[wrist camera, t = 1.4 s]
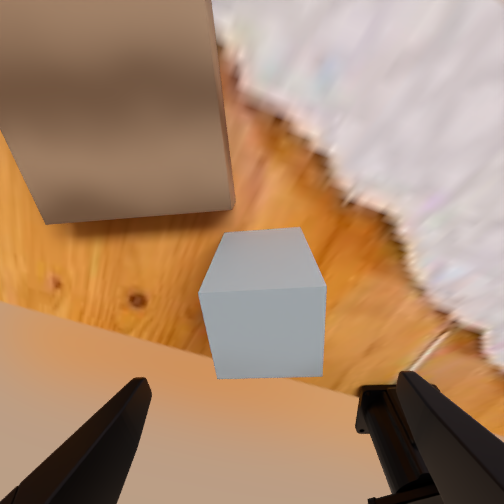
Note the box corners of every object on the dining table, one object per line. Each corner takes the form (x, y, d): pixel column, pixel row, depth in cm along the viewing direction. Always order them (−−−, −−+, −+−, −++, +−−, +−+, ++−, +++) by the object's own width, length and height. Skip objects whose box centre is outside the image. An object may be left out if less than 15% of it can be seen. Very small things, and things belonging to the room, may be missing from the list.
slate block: (300, 291, 17) (322, 376, 11) (233, 294, 18) (217, 379, 11) (300, 226, 15) (326, 286, 9) (224, 232, 16) (198, 293, 9)
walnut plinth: (235, 201, 15) (231, 209, 13) (71, 215, 16) (45, 224, 14) (205, -52, 10) (192, -94, 8) (-26, -13, 11) (-83, -44, 9)
